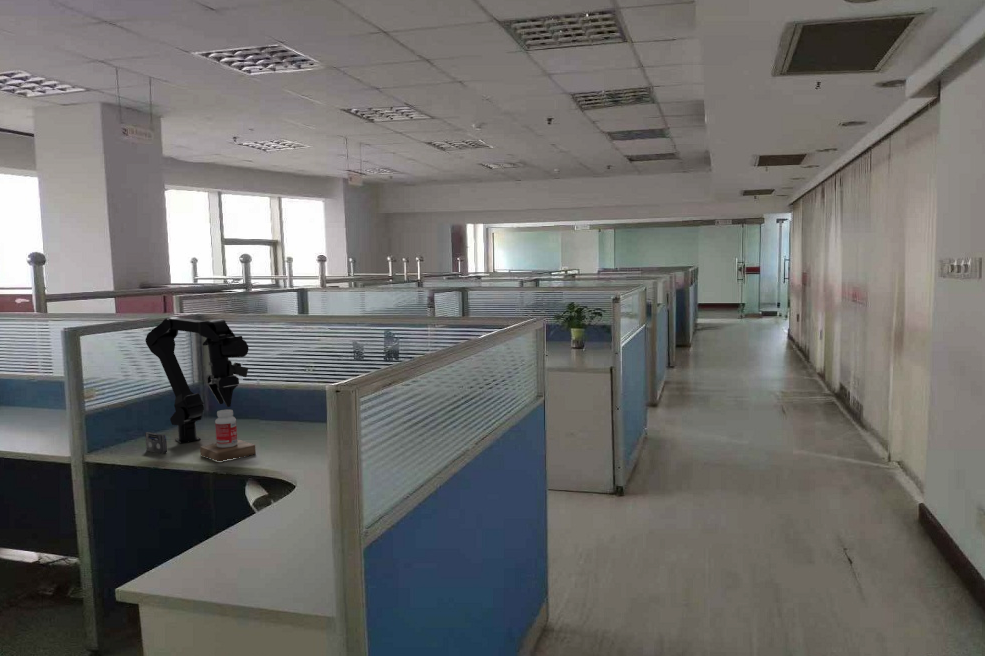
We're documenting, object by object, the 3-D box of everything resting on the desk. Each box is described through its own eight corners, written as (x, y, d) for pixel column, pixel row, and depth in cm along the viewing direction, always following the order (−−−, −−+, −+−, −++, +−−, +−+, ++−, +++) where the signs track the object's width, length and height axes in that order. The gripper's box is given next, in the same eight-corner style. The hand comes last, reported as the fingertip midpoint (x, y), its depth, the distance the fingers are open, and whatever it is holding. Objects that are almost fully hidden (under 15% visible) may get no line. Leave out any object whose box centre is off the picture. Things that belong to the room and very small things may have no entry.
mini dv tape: (167, 452, 232) (165, 434, 231) (163, 454, 230) (161, 435, 230) (150, 449, 236) (149, 431, 235) (146, 450, 234) (145, 432, 234)
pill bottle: (234, 447, 224) (232, 412, 223) (214, 448, 223) (211, 413, 222) (240, 442, 230) (237, 408, 229) (220, 443, 230) (217, 409, 228)
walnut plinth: (200, 456, 227) (200, 446, 226) (236, 447, 235) (236, 438, 235) (219, 463, 219) (218, 453, 218) (255, 454, 227) (255, 445, 227)
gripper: (252, 355, 233) (258, 403, 235) (236, 353, 249) (241, 398, 250) (216, 361, 227) (222, 410, 228) (202, 358, 242) (208, 404, 244)
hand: (225, 405), depth 238 cm, fingers open, 9 cm apart
